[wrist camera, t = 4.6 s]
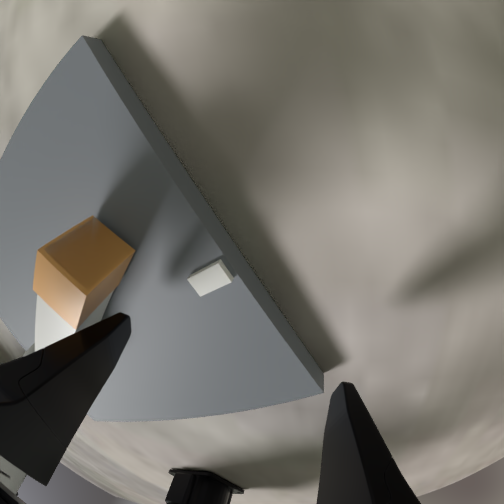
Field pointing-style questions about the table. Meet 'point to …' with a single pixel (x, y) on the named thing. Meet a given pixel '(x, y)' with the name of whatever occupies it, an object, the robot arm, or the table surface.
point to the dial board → (142, 254)
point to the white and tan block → (76, 280)
